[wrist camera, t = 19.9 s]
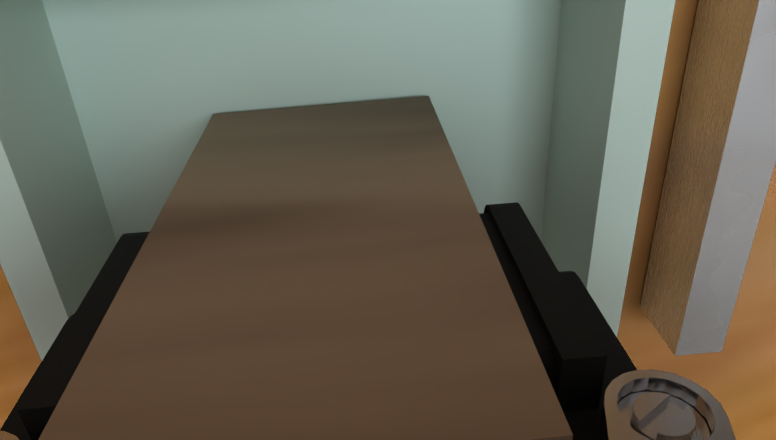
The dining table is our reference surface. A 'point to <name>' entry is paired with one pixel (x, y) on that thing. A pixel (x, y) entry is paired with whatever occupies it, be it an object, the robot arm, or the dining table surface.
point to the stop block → (315, 296)
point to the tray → (319, 87)
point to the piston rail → (714, 175)
